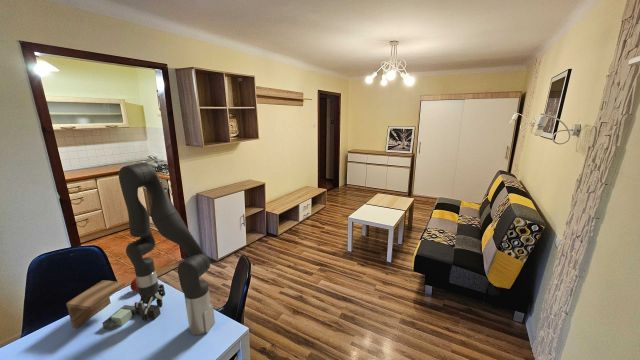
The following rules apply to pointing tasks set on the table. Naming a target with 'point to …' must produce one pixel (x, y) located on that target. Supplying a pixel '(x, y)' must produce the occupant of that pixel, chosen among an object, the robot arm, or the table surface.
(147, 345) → the table surface
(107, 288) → the walnut shelf
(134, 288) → the red rounded piece
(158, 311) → the mallet
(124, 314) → the block
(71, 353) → the table surface
